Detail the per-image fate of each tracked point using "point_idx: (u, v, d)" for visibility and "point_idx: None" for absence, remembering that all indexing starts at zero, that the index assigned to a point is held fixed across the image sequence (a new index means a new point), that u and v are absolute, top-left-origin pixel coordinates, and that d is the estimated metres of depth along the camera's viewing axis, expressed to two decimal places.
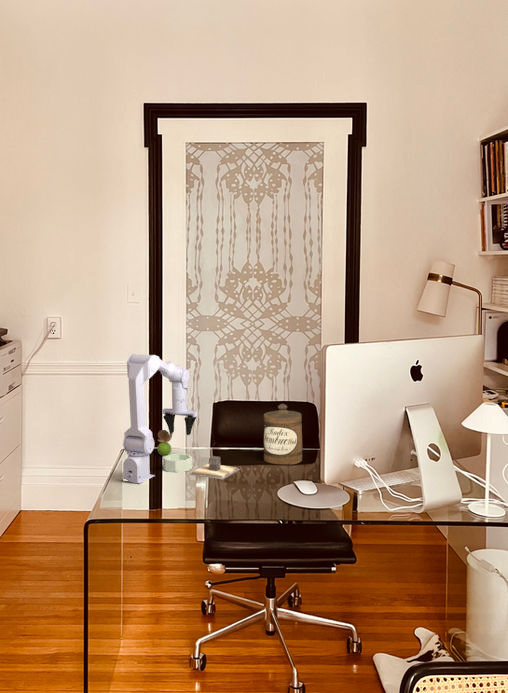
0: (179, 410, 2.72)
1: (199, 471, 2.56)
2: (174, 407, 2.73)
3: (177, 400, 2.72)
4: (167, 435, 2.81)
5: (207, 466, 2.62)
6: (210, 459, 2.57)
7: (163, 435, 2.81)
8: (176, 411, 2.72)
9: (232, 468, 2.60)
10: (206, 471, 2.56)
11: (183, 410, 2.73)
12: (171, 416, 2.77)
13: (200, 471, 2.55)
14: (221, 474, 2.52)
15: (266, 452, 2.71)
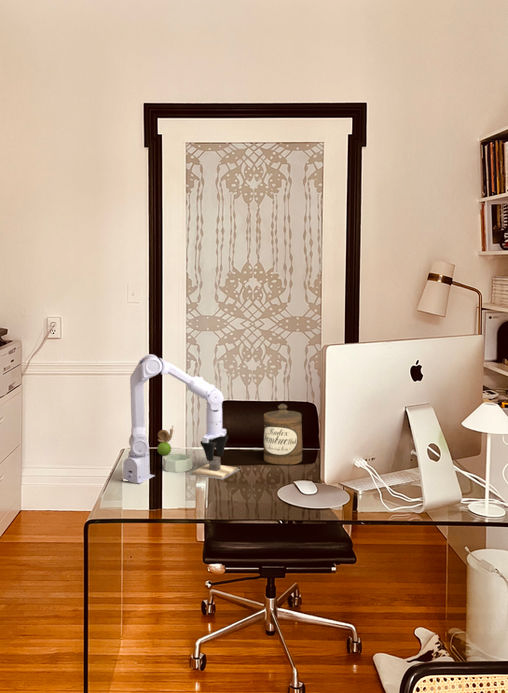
0: None
1: (199, 471, 2.56)
2: None
3: None
4: (167, 435, 2.81)
5: (207, 466, 2.62)
6: None
7: (163, 435, 2.81)
8: None
9: (232, 468, 2.60)
10: (206, 471, 2.56)
11: (207, 433, 2.55)
12: (219, 438, 2.60)
13: (200, 471, 2.55)
14: (221, 474, 2.52)
15: (266, 452, 2.71)
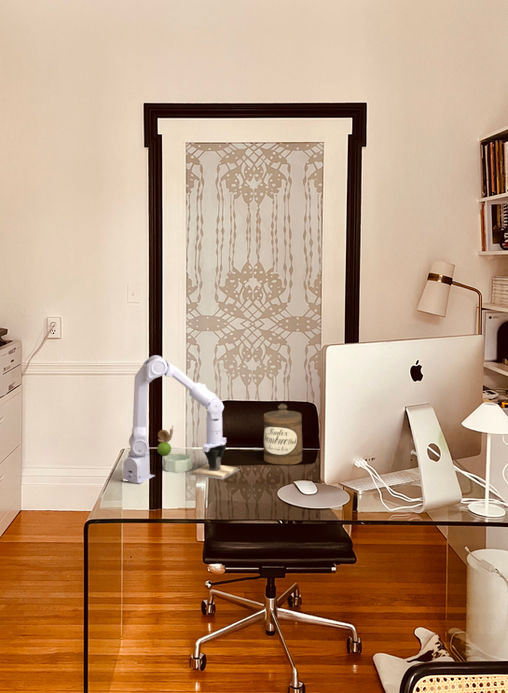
0: None
1: (199, 471, 2.56)
2: None
3: None
4: (167, 435, 2.81)
5: (207, 466, 2.62)
6: None
7: (163, 435, 2.81)
8: None
9: (232, 468, 2.60)
10: (206, 471, 2.56)
11: (208, 441, 2.55)
12: (216, 448, 2.59)
13: (200, 471, 2.55)
14: (221, 474, 2.52)
15: (266, 452, 2.71)
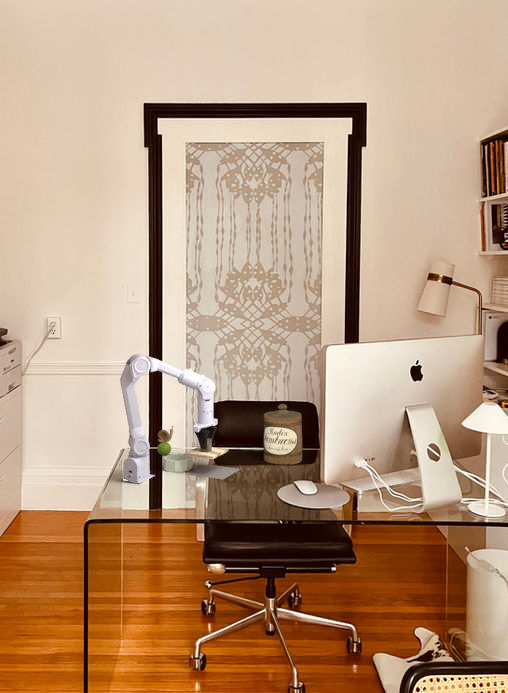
0: None
1: (190, 453, 2.56)
2: None
3: None
4: (167, 435, 2.81)
5: (199, 448, 2.62)
6: None
7: (163, 435, 2.81)
8: None
9: (223, 450, 2.60)
10: (197, 453, 2.56)
11: (198, 422, 2.56)
12: (207, 429, 2.59)
13: (191, 453, 2.56)
14: (212, 455, 2.52)
15: (266, 452, 2.71)
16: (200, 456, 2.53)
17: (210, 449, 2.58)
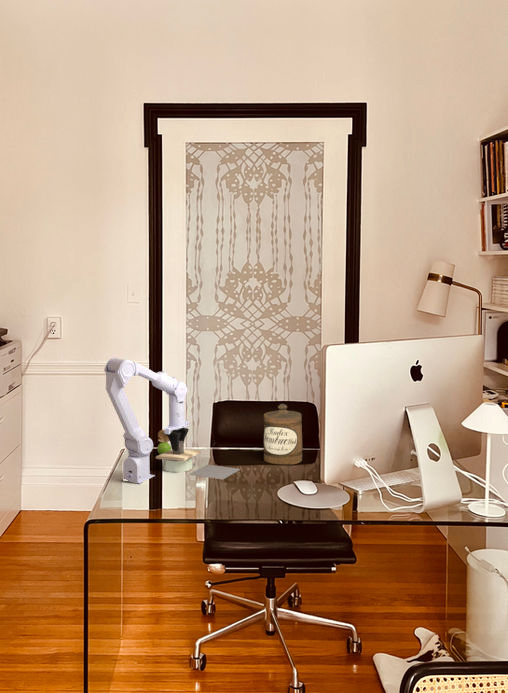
0: (169, 423, 2.61)
1: (163, 455, 2.60)
2: None
3: None
4: None
5: (171, 451, 2.66)
6: None
7: (163, 435, 2.81)
8: None
9: (196, 451, 2.64)
10: (169, 455, 2.60)
11: (170, 424, 2.59)
12: (179, 430, 2.63)
13: (164, 456, 2.60)
14: (184, 457, 2.56)
15: (266, 452, 2.71)
16: (172, 458, 2.56)
17: (182, 451, 2.62)
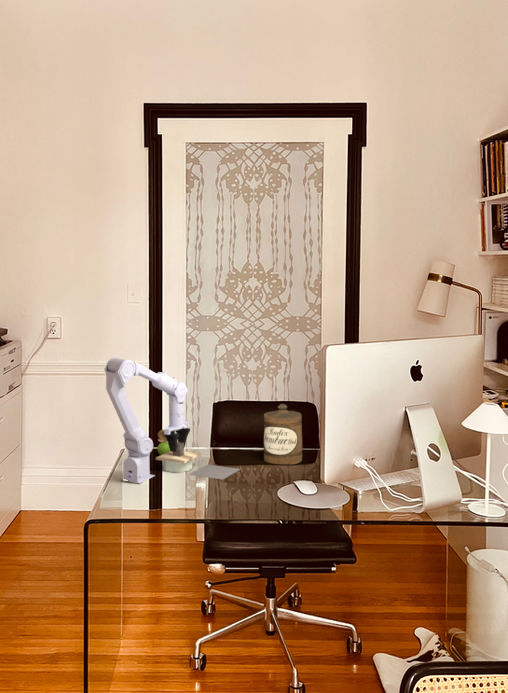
0: (169, 423, 2.61)
1: (163, 457, 2.60)
2: None
3: None
4: None
5: (171, 452, 2.66)
6: None
7: (163, 435, 2.81)
8: None
9: (196, 454, 2.64)
10: (169, 457, 2.60)
11: (170, 425, 2.59)
12: (181, 430, 2.64)
13: (164, 457, 2.60)
14: (184, 459, 2.56)
15: (266, 452, 2.71)
16: (172, 460, 2.56)
17: (182, 453, 2.62)
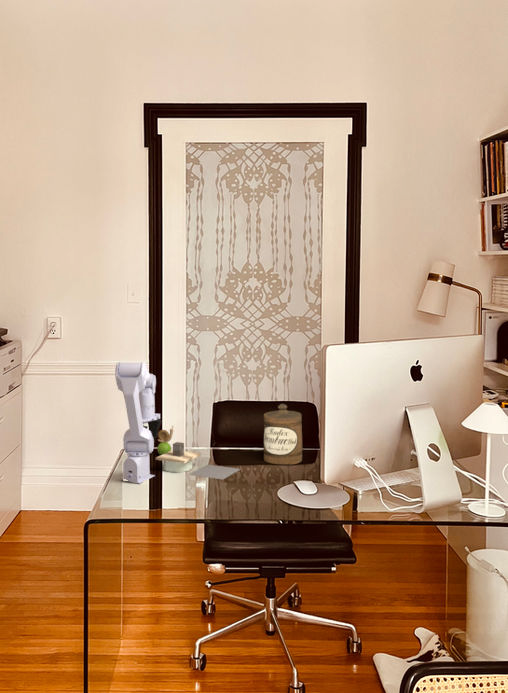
0: None
1: (163, 457, 2.60)
2: None
3: None
4: (167, 435, 2.81)
5: (171, 452, 2.66)
6: (174, 445, 2.61)
7: (163, 435, 2.81)
8: None
9: (196, 454, 2.64)
10: (169, 457, 2.60)
11: None
12: (152, 422, 2.69)
13: (164, 457, 2.60)
14: (184, 459, 2.56)
15: (266, 452, 2.71)
16: (172, 460, 2.56)
17: (182, 453, 2.62)
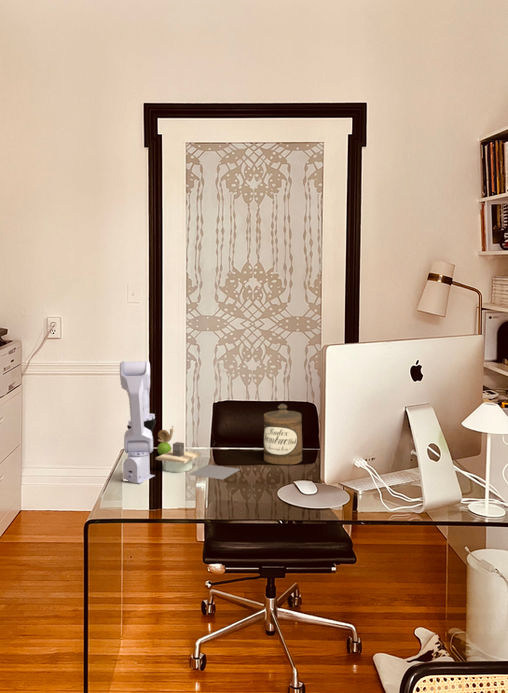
0: None
1: (163, 457, 2.60)
2: None
3: None
4: (167, 435, 2.81)
5: (171, 452, 2.66)
6: (174, 445, 2.61)
7: (163, 435, 2.81)
8: None
9: (196, 454, 2.64)
10: (169, 457, 2.60)
11: None
12: (147, 422, 2.70)
13: (164, 457, 2.60)
14: (184, 459, 2.56)
15: (266, 452, 2.71)
16: (172, 460, 2.56)
17: (182, 453, 2.62)
